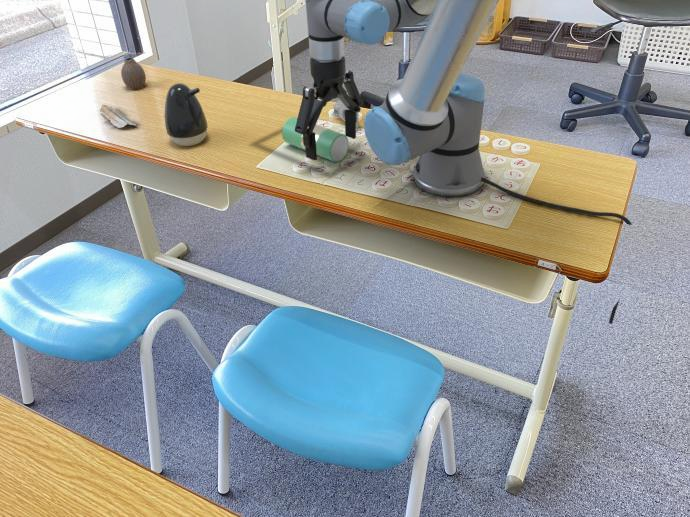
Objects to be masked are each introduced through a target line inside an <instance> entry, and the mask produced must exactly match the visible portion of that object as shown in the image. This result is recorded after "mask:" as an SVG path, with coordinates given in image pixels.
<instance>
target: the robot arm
mask: <svg viewBox="0 0 690 517" xmlns="http://www.w3.org/2000/svg"><path fill="white" fill-rule="evenodd" d="M304 2H305V12H306V21H307V22H306V24H307V35H308V50H309V57H310V59H309V67H310V75H311V77H312V79H313V84H312V86H310V87H308V86H303V88H302V98H301V102H300V106H299V110H298V114H297V117H296V118H297V122H296V126H295V132H297V133H300V134H302V135H303V145H304V146H305V149H306V151H305V158H307V159H309V160H311V161H314V162H315V161H317V160H318V155H317V152H316V137H315V133H314V132H313V130H314V127H315V125H317V122H318V120H319V118H320V115H321V113H322V111H323V108H325V107H326V106H327V104H328V103H329V102H332V100H335V99H338V100H339V99H340V100H341V101H342V103H343V104H344V105H345V106H346V107H347V108H348V109H349V110H345V122H344V132H345V133H344V135H345V136H346V137H347V138H350V139H353V140H355V139H356V138H357V128H356V121H357V112H359V113H360V112H361V107H362V106H363V105H364V101H363V99H362V96H361V93H360V91H359V89H358V87H357V84H356V81H355V79H354V71H353V70H352V71H351V70H348V69H346V58H345V55H346V40H345V38H346V39H349V40H352V41H353V42H355V43H359V44H364V45H367V46H368V45H369V46H374V45H377V44H379V43H380V42H381V40H382V39H384V38H385V37H386V35H387V33H388V32H389V33H390V32H393V31H395V30H398V29H401V28H405V27H408V26H413V25H414V26H415V25H418V24H420V23H423V22H424V21H427V23H426V25H425V27H424V29H423V32H422V34H421V37H420V38H419V41H418V43H417V45H416V48H415V50H414V52H413V54H412V57H411V59H410V61H409V64H408V66H407V68H406V71H405V73H404V76H403V78H399V79H398V80H396V81H394V82H393V83H392V84H391V85H390V87H389V88H388V91H387V93H386V96H385V98H384V101H383V103H382V104H381V105H379V106H373V107H372V109H369V110H368V111H367V113H366V114H365V117H364V119H363V120H364V121H363V130H364V135H365V138H366V142H367V143H368V145H369V147H370V149H371V151H372V152H373V154H374V155H375V156H376V157H377V159H379V161H381V162H382V163H384V164H386V165H388V166H393V167H395V166H399V165H402V164H407V163H409V162H411V161H412V160H414V159H417V161H416V163H415V165H414V169H413V181H414V183H415V185H417V187H418V188H419V189H421V190H422V191H424V192H427V193H429V194H432V195H435V196H441V197H461V196H467V195H469V194H472V193H475V192H477V191H479V189H481V188H482V186H483V184H484V183H486V184H487V185H489V186H492V187H494V188H496V189H497V190H499V191H501V192H504V193H507V194H508V195H511V196H513V197H517V198H519V199H522V200H525V201H528V202H531V203H535V204H539V205H541V206H546V207H549V208H554V209H558V210H562V211H569V212H574V213H579V214H583V215H590V216H595V217H613V218H618V219H620V220H622V221H623V222H624V223H625V224H627V225H628V226H633V224H632V222H631V221H630V220H629V219H628V218H627V217H626V216H624V215H623V214H620V213H616V212H608V211H607V212H606V211H603V212H602V211H592V210H587V209H583V208H581V209H580V208H576V207H572V206H566V205H561V204H557V203H552V202H547V201H544V200H540V199H537V198H533V197H529V196H527V195H524V194H521V193H518V192H515V191H513V190H510V189H508V188H505V187H503V186H501V185H499V184H497V183H496V182H494V181H492V180H489V179H487V178H485V169H484V166H483V161H482V156H481V152H480V140H481V132H482V122H483V114H484V106H485V103H486V99H485V93H486V92H485V91H486V87H485V85H484V83H483V81H482V80H481V79H480V78H478V77H475V76H474V75H470V74H467V73H461V72H462V71H463V68H464V67H465V65H466V63H467V61H468V59H469V58H470V56H471V54H472V53H473V50H474V49H475V46H476V44H477V43H478V41H479V39H480V37H481V35H482V33H483V32H484V29H485V28H486V26H487V25H488V23H489V21H490V19H491V17H492V15H493V13H494V11H495V9H496V7H497V5H498V3H499V2H500V0H304ZM343 85H344V87H343ZM308 127H309V128H308ZM620 299H621V298H619V299H618V300H617V302H616V303H615V305H614V306H612V309H611V313H610V317H609V320H608V324H610V325H613V322H614V319H615V316H616V312H617V309H618V306H619V304H620Z"/></svg>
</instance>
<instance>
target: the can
mask: <svg viewBox="0 0 690 517" xmlns="http://www.w3.org/2000/svg"><path fill="white" fill-rule="evenodd" d="M297 118H298V117H296V116H292V117H290V118H288V119H287V120H286V121H285V122H284V124H283V126H282V129H281V136H282V140H283V142H284V143H286V144H288V145H291V146H293V147H295V148H298V149H300V150H303V151H305V152H306V149H305V146H304V145H303V135H302V134H300V133H297V132H295V126H296V122H297ZM308 128H309V127H308ZM313 132H314V133H315V137H316V152H317V157H320V158H323V159H326V160H328V161H331V162H333V163H339V162H341V161H342V160H343V159H344V158H345V157H346V155H347V154H348V151H349V146H350V145H349V143H350V142H349V137H347V136H345V133H344V134H343V133H341V132H338V131H335V130H332V129H330V128H328V127H324V126H322V125H319V124H316V125H315V127H314V130H313Z"/></svg>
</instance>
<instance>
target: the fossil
mask: <svg viewBox="0 0 690 517" xmlns="http://www.w3.org/2000/svg"><path fill="white" fill-rule="evenodd" d="M99 113H101V114H103V116H104V117H105V118H106V119H107V120H108V121H109V122H110V123H111V124H112V125H113V126H114V127H116V128H119V129H121V128H124V127H125V126H127V125H130V126H136V127H137V124H136V123H135V122H133V121H132V120H130V119H129V118H127V117H126V116H125V115H124V114H123V113H121V112H120V111H118V110H117V109H116V108H114V107H113V106H111V105H106V104H102V105H101V107H100V109H99Z"/></svg>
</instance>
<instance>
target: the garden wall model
mask: <svg viewBox="0 0 690 517" xmlns="http://www.w3.org/2000/svg"><path fill="white" fill-rule="evenodd" d="M332 106H333V114H334V115H336V116H337V117H338V118H340V119H341V120H343V122H344V123H345V110H349V109H348V108H347V107H346V106H345V105H344V104H343V103H342V101H341V100H340V99H339V98H338V100H337V103H336V102H335V103H334V104H333V105H332ZM359 114H360V112H357V121H356V129H359Z"/></svg>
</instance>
